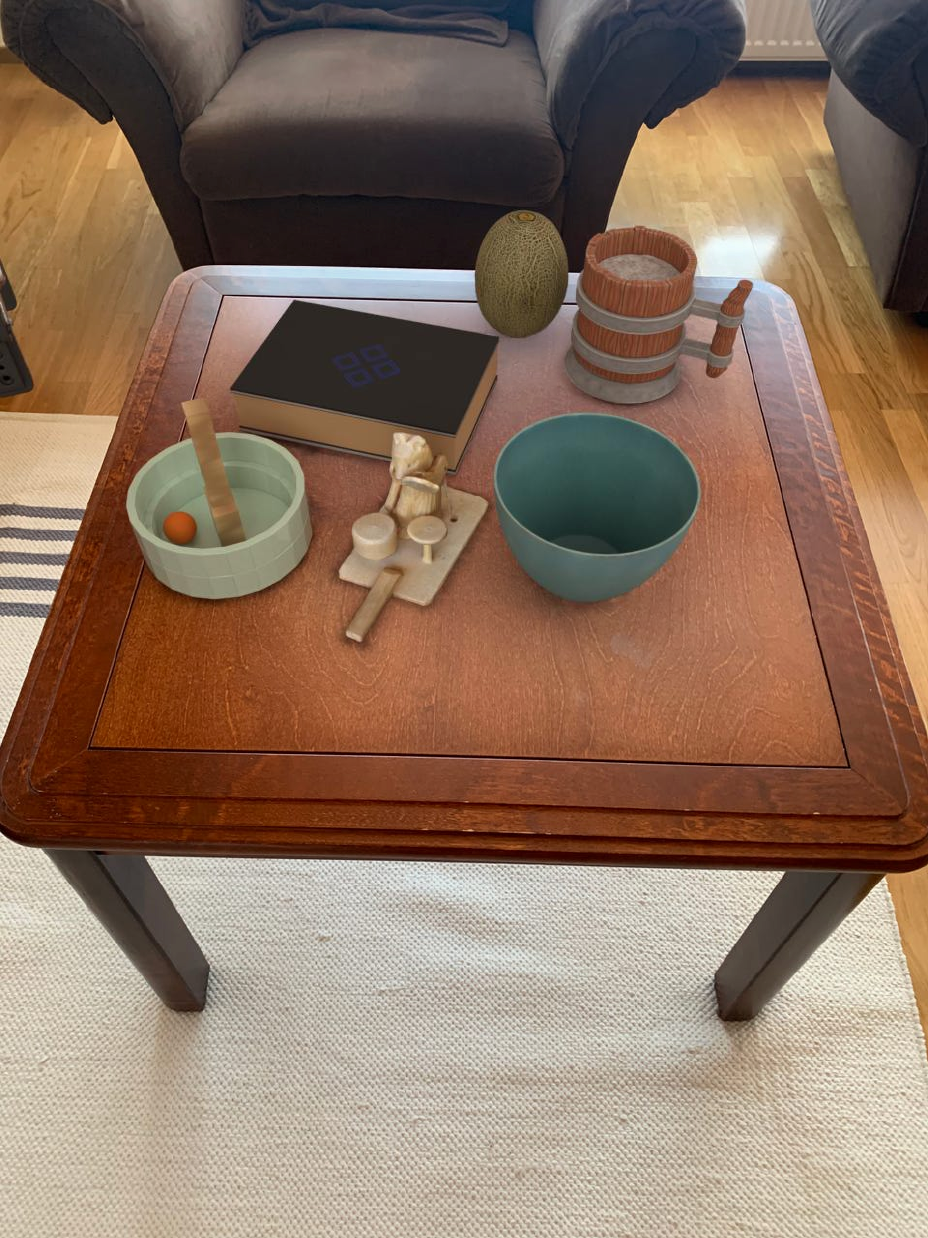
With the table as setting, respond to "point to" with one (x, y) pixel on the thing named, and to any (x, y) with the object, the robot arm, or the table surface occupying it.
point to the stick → (213, 473)
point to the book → (366, 382)
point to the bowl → (202, 566)
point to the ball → (180, 527)
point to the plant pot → (593, 503)
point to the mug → (643, 317)
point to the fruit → (521, 274)
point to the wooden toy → (410, 533)
